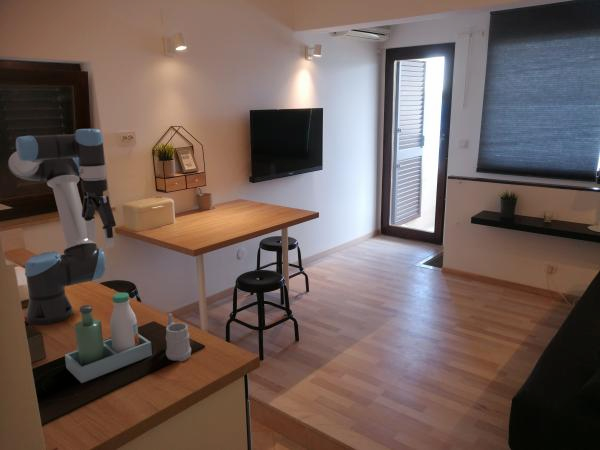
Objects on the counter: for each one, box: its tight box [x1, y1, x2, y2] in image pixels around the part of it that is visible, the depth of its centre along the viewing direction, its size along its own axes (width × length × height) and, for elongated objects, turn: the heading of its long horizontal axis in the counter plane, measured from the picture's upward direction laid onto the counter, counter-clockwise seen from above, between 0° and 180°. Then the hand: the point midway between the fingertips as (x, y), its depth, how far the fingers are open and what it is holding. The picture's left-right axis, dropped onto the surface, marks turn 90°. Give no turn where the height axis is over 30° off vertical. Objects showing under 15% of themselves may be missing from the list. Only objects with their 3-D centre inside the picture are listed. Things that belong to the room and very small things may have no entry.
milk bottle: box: [109, 292, 139, 353], centre depth 145 cm, size 8×8×20 cm
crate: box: [64, 333, 153, 384], centre depth 144 cm, size 11×21×5 cm, turn 135°
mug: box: [165, 313, 192, 362], centre depth 148 cm, size 8×12×12 cm, turn 34°
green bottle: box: [74, 304, 105, 367], centre depth 138 cm, size 7×7×19 cm
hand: (100, 243), depth 156 cm, fingers open, 13 cm apart
